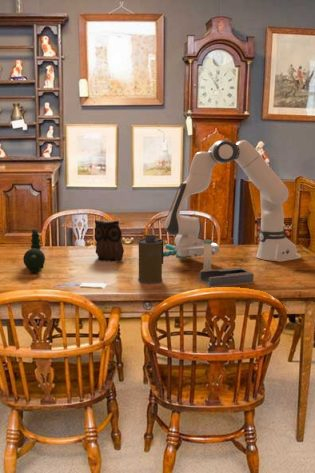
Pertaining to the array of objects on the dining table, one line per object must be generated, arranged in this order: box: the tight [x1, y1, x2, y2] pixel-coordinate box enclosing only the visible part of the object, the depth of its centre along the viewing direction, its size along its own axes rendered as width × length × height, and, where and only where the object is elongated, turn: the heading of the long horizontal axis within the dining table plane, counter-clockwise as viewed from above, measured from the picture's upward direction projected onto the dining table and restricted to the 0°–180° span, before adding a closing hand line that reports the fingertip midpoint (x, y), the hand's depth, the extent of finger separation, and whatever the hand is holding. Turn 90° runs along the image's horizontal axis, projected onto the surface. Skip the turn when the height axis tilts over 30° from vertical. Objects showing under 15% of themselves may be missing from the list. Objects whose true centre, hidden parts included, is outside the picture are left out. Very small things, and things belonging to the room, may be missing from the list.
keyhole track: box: [198, 266, 255, 288], centre depth 217 cm, size 20×12×4 cm, turn 109°
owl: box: [94, 219, 125, 263], centre depth 251 cm, size 13×13×20 cm
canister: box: [137, 233, 164, 284], centre depth 217 cm, size 11×10×20 cm
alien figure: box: [163, 243, 191, 258], centre depth 268 cm, size 20×2×20 cm
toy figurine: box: [22, 228, 46, 275], centre depth 233 cm, size 9×19×25 cm
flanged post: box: [200, 239, 213, 271], centre depth 229 cm, size 6×6×15 cm
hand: (204, 253), depth 232 cm, fingers open, 8 cm apart
